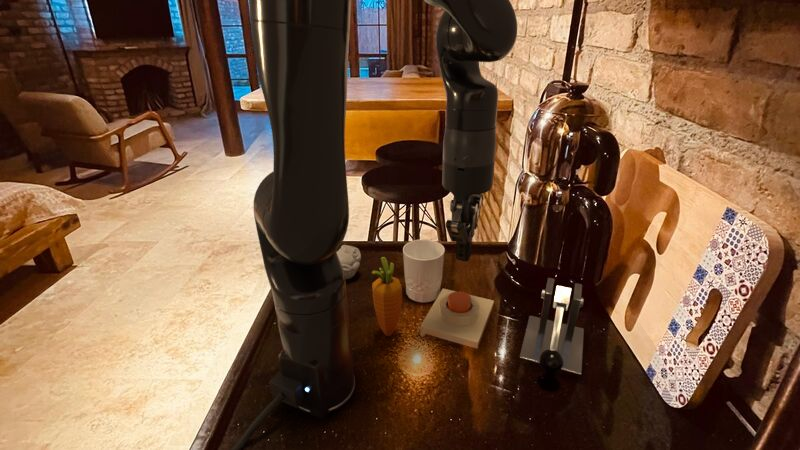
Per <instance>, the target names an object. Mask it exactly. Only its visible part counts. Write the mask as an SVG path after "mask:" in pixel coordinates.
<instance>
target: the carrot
mask: <svg viewBox="0 0 800 450" xmlns="http://www.w3.org/2000/svg"><path fill="white" fill-rule="evenodd" d="M380 261H381V265H382V267H379V271H378V270H372V271H371V274H372V275H374V276H377V277H378V278H377V279H375V280H374V281H373V282H372V284H371V290H372V299H373V307H374V313H375V316H376V319H377V322H378V323H377V324H378V326H379V328H380V330H381V331H382V332H383V334H384V335H385V336H386V337H391V336H392V335H393V334H394V332H395V331H396V329H397V327H398V325H399V322H400V318H401V313H402V305H403V304H402V303H403V287H402V285H401V281H400V279H398V278H397V277H394V276H393V275H394V270H395V263H393V262H390V264H389V261H388V260H387V257H385V256H382V257H381V258H380Z"/></svg>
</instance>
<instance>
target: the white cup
mask: <svg viewBox="0 0 800 450" xmlns="http://www.w3.org/2000/svg"><path fill="white" fill-rule="evenodd" d="M445 252H446V249H445V247H444V245H443V244H442V243H440V242H438V241H436V240H433V239H425V238H423V239H422V238H421V239H415V240H411V241H409V242H407V243H405V244H404V246H403V247H402V257H403V258H402V259H403V260H402V261H403V273H404V282H405V293H406V296H407V297H408V298H409V299H410V300H412V301H413V302H416V303H422V304H423V303H431V302H434V301H436V299H437V297H438V296H439V294H440V292H441V287H442V282H443V276H444V275H443V273H444V263H445Z"/></svg>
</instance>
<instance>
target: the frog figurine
mask: <svg viewBox="0 0 800 450" xmlns="http://www.w3.org/2000/svg"><path fill="white" fill-rule="evenodd" d="M336 252H337V255H338V257H339V260H340V262H341V264H342V267H343V269H344V272H345V278H346V280H349V279H352V278H353V277H354V276H355V275H356V273H357V272H358V268H359V267H360V265H361V263H360V262H361V260H362V254H361V251H360V249H359V248H358V247H356V246H353V245H347V244H343V245H340V247H339V248H338V249H337V251H336Z"/></svg>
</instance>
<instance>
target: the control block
mask: <svg viewBox="0 0 800 450" xmlns="http://www.w3.org/2000/svg"><path fill="white" fill-rule="evenodd" d="M453 292H457V291H456V290H451V289H448V288H442V289H441V290H440V294H439V296H438V297H437V299H436V300H434V301H433V302H434V303H433V304H432V306H431V307H430V309H429V311H428V312H427V314H426V316H425V317H424V319H423V321H422V322H421V325H420V326H419V337H421V338H424V337H425V335H428V336H432V337H435V338H438V339H442V340H445V341H449V342H453V343H456V344H459V345H463V346H466V347H467V346H468V347H470V348H473V349H479V346H480V343H481V341H482V338H483V336H484V333H485V330H486V328H487V326H488V323H489V320H490V318H491V315H492V312H493V310H494V306H495V300H492V299H489V298H485V297H480V296H477V295H473V294H469V293H467V294H468V295H469V296H470V297H471V308H470V310H469V311H468V312H466V313H456V312H453V311H451V310H450V309H449V308H448V296H449V295H450V294H451V293H453Z"/></svg>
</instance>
